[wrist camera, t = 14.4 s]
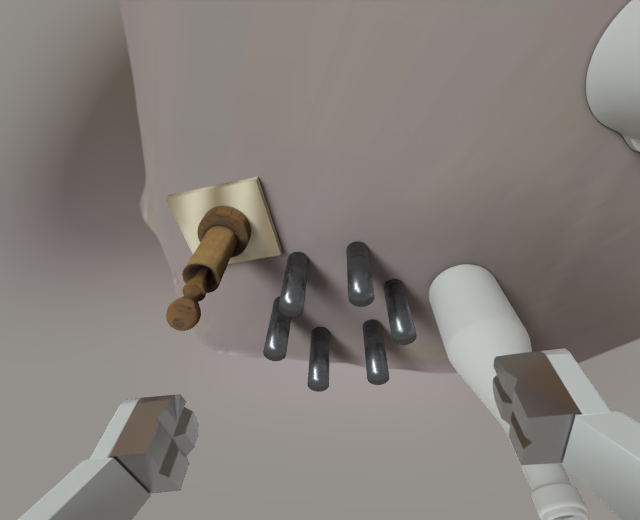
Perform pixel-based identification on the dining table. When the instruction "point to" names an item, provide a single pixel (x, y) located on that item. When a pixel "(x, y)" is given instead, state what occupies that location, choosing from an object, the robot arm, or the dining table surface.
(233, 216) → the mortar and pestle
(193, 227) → the birch board
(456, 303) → the wine bottle
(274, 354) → the capsules
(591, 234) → the dining table surface
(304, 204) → the dining table surface
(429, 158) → the dining table surface
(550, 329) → the dining table surface
